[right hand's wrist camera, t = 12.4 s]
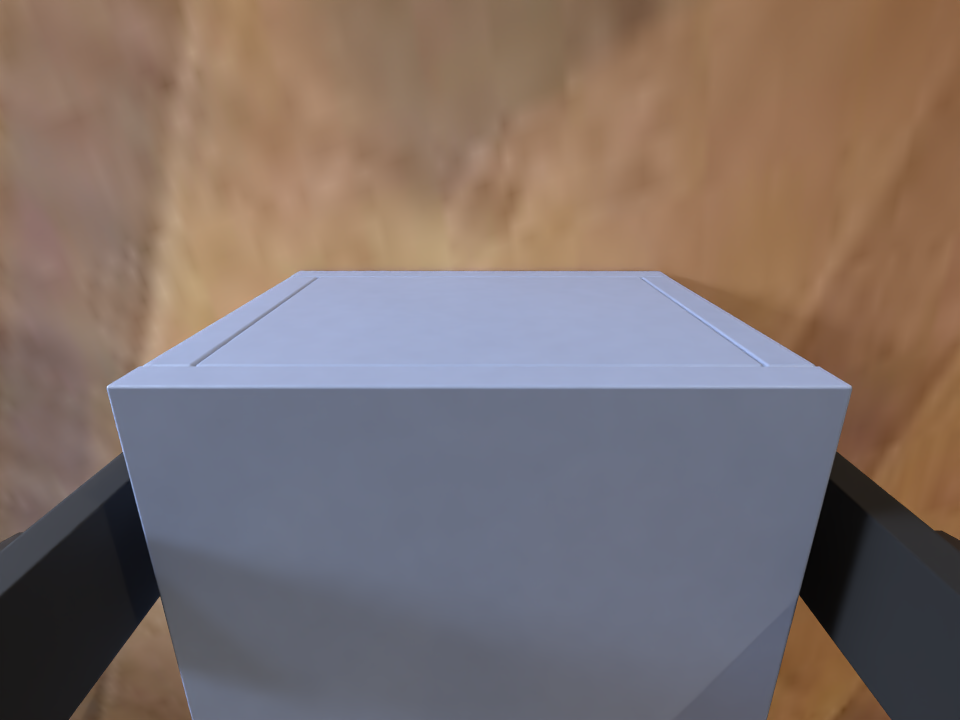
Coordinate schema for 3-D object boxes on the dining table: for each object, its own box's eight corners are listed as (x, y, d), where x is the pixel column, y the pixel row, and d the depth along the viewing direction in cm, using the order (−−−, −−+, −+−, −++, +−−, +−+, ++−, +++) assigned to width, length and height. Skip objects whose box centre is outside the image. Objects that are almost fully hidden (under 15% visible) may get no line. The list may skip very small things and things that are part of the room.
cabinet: (608, 717, 23) (684, 1041, 14) (350, 717, 23) (274, 1041, 14) (660, 270, 16) (855, 386, 8) (298, 270, 16) (104, 385, 8)
